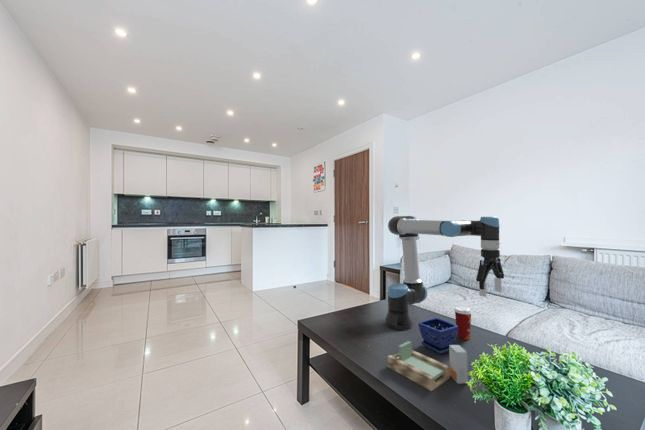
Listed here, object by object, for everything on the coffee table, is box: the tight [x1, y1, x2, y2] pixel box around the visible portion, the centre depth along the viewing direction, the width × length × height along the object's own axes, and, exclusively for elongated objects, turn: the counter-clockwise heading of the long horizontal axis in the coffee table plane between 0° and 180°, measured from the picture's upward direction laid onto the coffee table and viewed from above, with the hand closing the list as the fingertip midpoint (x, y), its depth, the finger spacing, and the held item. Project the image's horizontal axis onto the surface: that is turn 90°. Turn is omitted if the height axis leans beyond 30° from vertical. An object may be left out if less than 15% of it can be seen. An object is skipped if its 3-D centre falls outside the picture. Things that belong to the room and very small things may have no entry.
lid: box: [396, 340, 444, 380], centre depth 108 cm, size 18×8×7 cm, turn 37°
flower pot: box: [417, 317, 458, 355], centre depth 128 cm, size 13×13×12 cm
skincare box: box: [448, 344, 469, 385], centre depth 103 cm, size 6×4×12 cm
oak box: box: [387, 349, 451, 392], centre depth 108 cm, size 20×13×4 cm, turn 37°
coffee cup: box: [453, 306, 473, 341], centre depth 139 cm, size 8×8×15 cm
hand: (490, 293), depth 125 cm, fingers open, 13 cm apart
